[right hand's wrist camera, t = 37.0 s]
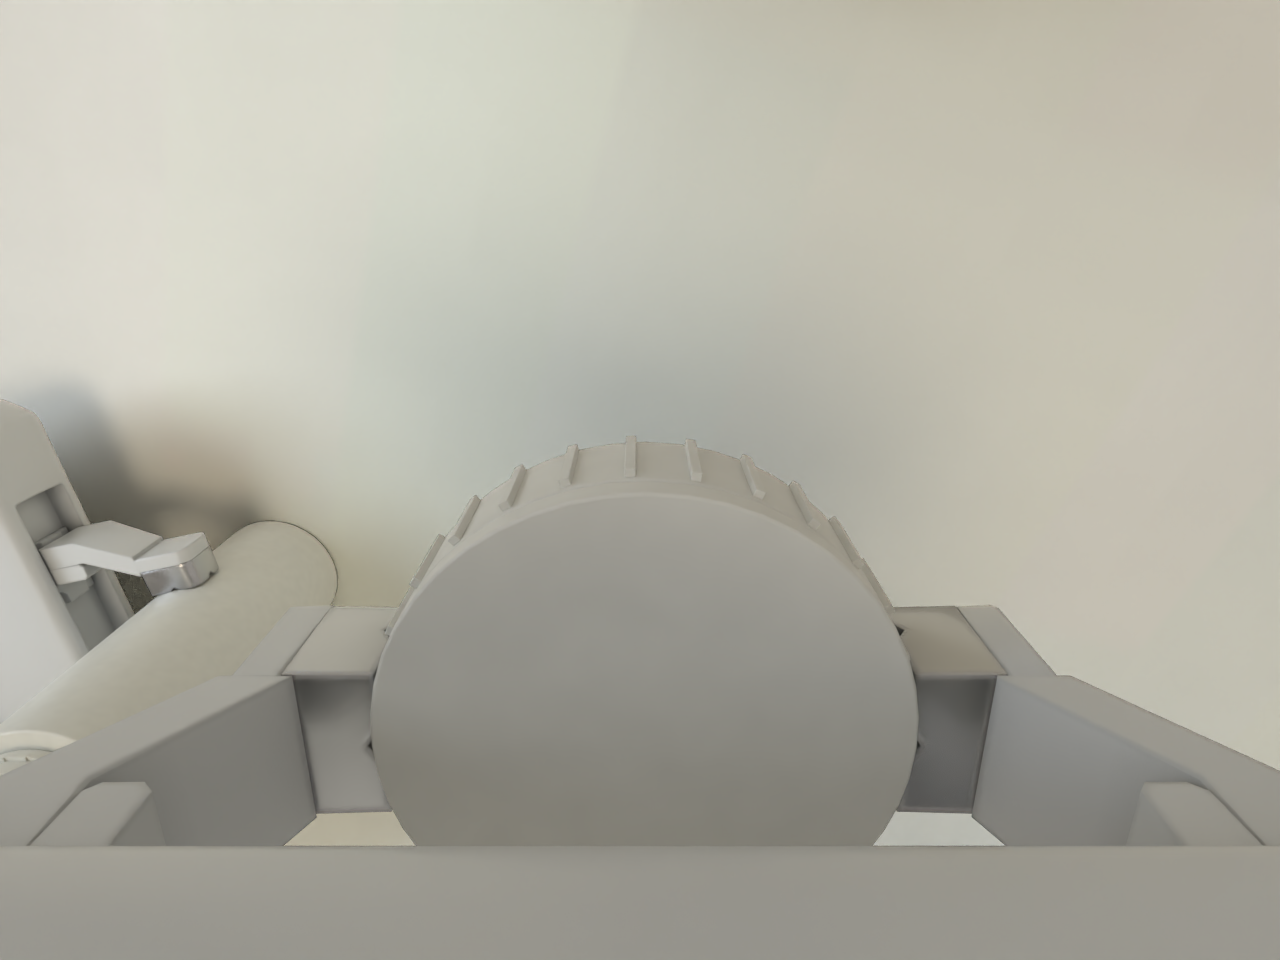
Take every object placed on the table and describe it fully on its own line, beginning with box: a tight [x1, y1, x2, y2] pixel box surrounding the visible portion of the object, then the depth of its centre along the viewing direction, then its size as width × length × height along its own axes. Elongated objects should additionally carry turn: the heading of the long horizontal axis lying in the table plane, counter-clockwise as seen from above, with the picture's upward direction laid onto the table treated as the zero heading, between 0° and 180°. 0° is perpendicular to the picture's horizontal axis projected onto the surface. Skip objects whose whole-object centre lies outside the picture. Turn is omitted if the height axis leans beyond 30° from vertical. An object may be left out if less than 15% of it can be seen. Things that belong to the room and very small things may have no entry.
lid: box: [370, 436, 919, 846], centre depth 9 cm, size 6×6×2 cm
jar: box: [0, 521, 337, 776], centre depth 27 cm, size 5×5×16 cm
